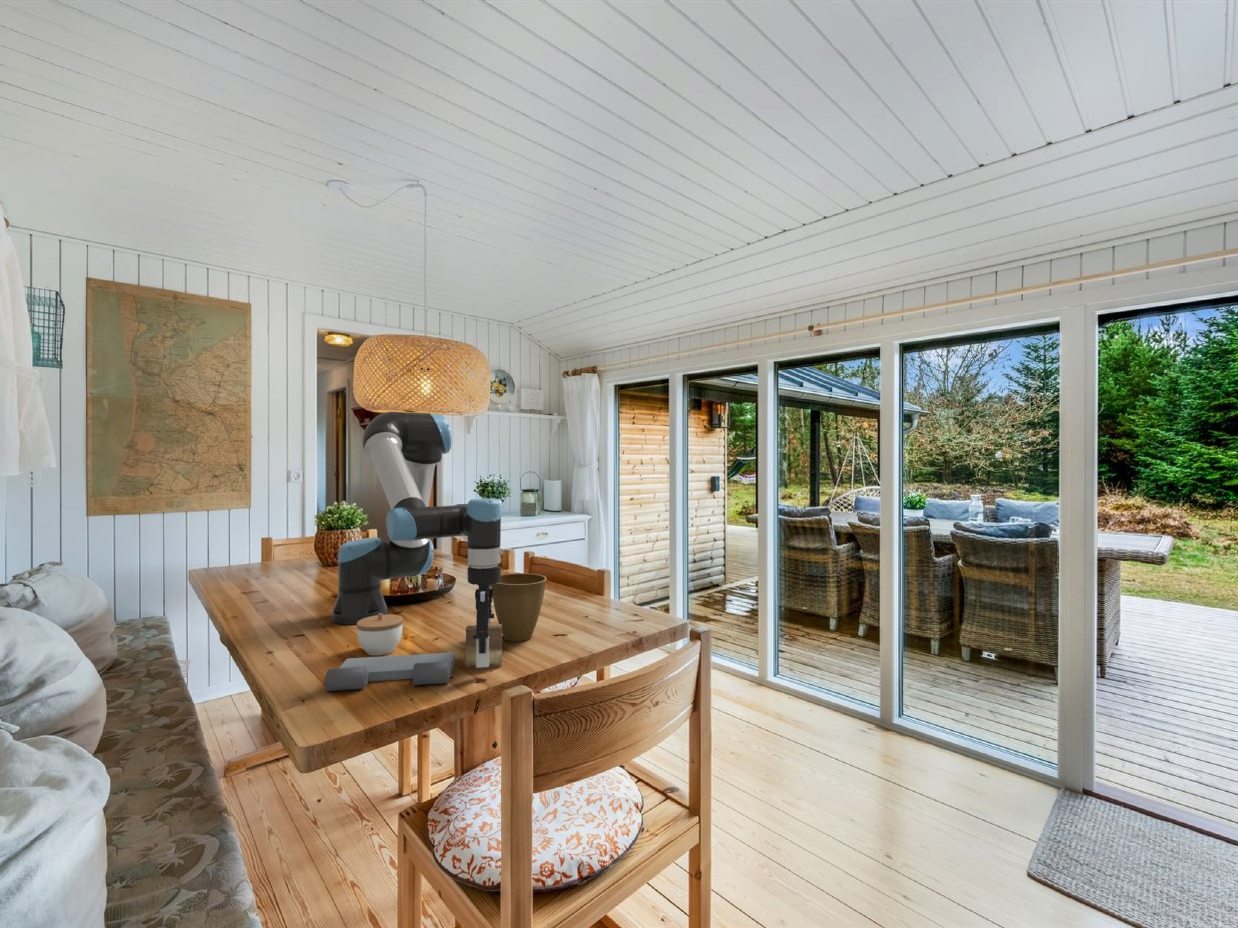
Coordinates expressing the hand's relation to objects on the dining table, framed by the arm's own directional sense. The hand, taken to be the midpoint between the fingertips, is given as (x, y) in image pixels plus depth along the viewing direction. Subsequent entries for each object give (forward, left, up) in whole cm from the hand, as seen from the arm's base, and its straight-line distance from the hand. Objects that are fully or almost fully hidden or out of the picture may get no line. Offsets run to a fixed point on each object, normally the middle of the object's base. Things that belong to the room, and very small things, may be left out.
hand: (484, 656), depth 130 cm
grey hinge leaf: (+3, -19, -2) cm, 19 cm away
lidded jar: (-14, -26, -2) cm, 30 cm away
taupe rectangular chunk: (0, 0, -2) cm, 2 cm away
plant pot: (-19, +8, -2) cm, 21 cm away
